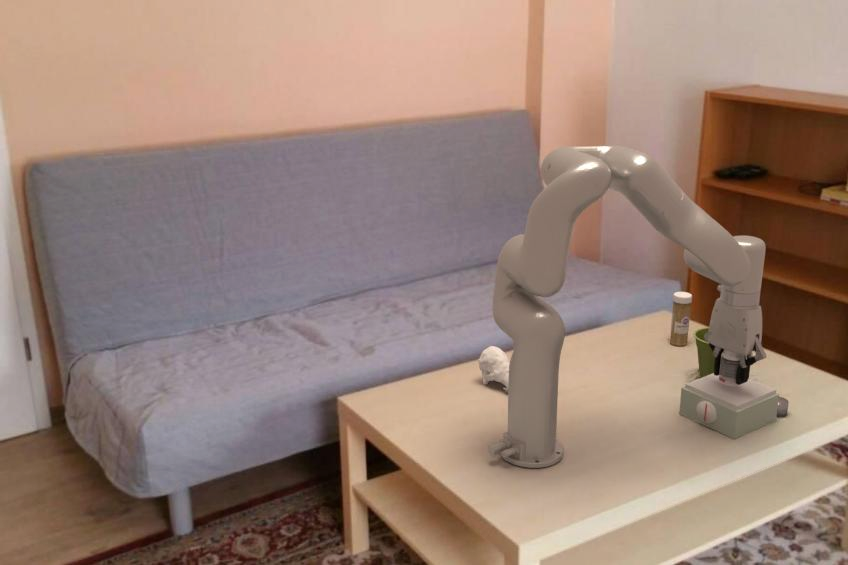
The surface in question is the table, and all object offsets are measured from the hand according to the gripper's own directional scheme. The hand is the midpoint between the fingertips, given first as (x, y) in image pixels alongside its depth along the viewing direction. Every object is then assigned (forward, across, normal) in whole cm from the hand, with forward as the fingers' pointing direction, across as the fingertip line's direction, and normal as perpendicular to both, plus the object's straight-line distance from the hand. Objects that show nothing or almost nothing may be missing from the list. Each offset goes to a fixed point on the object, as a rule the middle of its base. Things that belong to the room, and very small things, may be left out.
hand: (730, 377), depth 186 cm
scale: (+9, 0, 0) cm, 9 cm away
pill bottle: (+1, 0, 0) cm, 1 cm away
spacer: (+9, +5, +10) cm, 15 cm away
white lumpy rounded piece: (+10, -40, -29) cm, 50 cm away
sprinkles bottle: (+9, -33, +24) cm, 42 cm away
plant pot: (+9, -13, +13) cm, 21 cm away
